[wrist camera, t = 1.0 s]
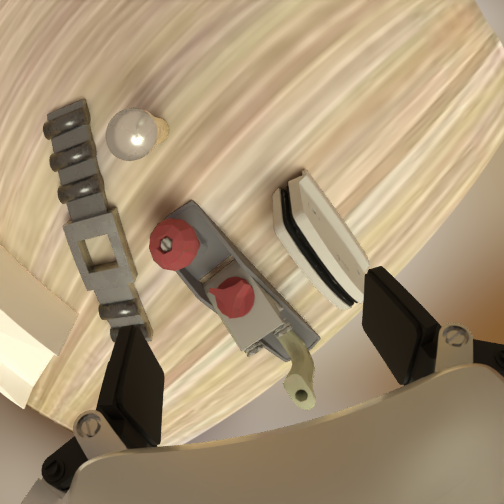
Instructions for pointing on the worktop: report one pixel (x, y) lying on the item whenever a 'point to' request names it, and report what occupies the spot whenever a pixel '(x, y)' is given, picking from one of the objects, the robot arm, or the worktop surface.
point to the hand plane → (237, 295)
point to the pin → (135, 133)
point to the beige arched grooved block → (320, 241)
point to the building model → (28, 328)
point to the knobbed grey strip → (93, 219)
